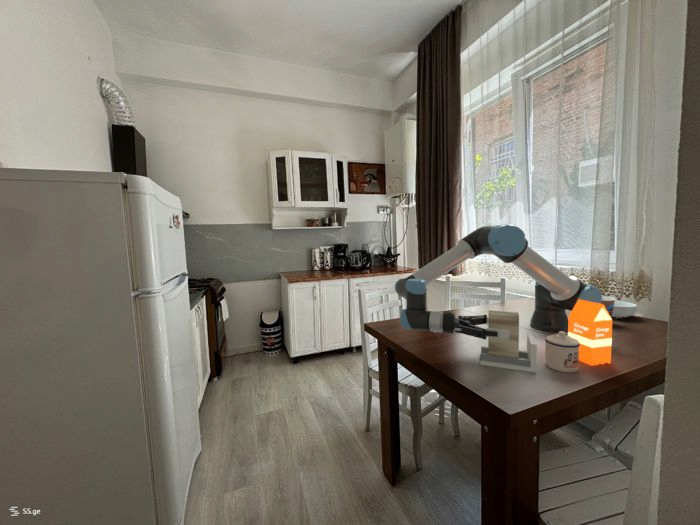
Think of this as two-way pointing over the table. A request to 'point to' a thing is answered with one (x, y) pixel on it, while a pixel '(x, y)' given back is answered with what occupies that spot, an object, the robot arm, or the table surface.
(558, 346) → the teacup with lid
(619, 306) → the cereal bowl
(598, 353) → the orange juice
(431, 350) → the table surface
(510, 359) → the track
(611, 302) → the coffee cup
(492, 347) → the tall wooden block
